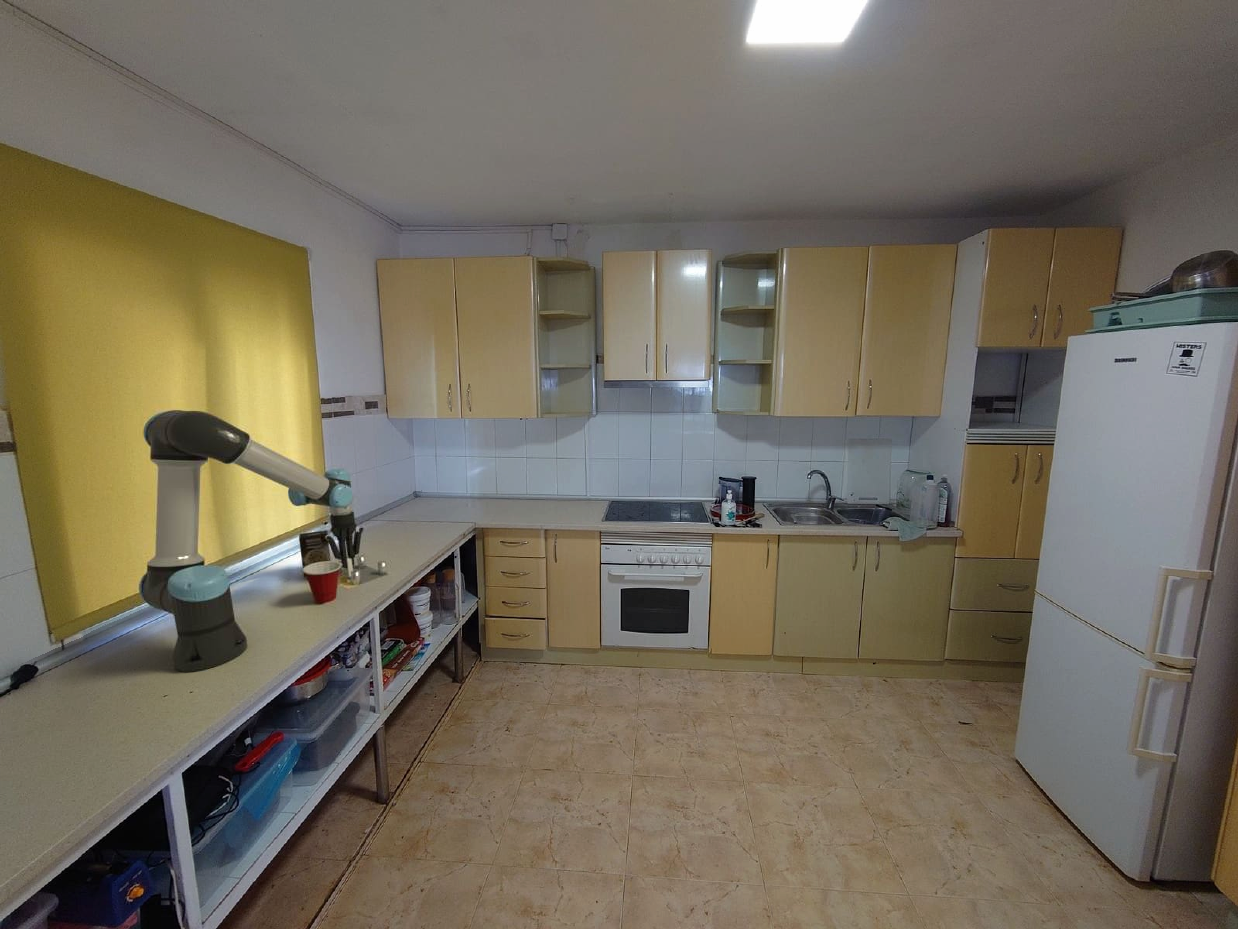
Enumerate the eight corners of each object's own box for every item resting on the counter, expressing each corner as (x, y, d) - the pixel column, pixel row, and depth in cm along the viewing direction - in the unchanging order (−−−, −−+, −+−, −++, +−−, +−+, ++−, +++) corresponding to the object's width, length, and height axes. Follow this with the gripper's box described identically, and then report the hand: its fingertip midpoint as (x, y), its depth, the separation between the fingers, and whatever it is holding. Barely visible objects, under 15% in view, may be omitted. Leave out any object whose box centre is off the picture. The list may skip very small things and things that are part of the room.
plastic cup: (335, 607, 157) (331, 571, 154) (300, 609, 156) (295, 573, 154) (351, 592, 167) (347, 559, 165) (318, 594, 166) (313, 560, 164)
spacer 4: (381, 577, 180) (380, 564, 179) (377, 575, 181) (376, 562, 180) (388, 574, 182) (387, 561, 181) (384, 573, 184) (383, 560, 183)
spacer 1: (339, 577, 181) (337, 564, 180) (335, 575, 182) (334, 562, 181) (347, 574, 183) (345, 562, 182) (343, 573, 184) (341, 560, 184)
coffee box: (303, 580, 178) (297, 538, 176) (304, 574, 184) (298, 533, 181) (332, 575, 183) (327, 533, 180) (332, 569, 188) (327, 529, 186)
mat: (347, 590, 169) (347, 588, 169) (324, 579, 179) (323, 578, 179) (388, 575, 181) (388, 574, 181) (364, 566, 191) (364, 565, 191)
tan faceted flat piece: (336, 585, 172) (335, 578, 172) (330, 582, 175) (329, 576, 174) (350, 580, 176) (350, 574, 176) (344, 577, 179) (344, 571, 178)
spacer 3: (360, 570, 186) (359, 558, 185) (356, 569, 188) (355, 556, 187) (367, 568, 189) (366, 556, 188) (363, 567, 190) (362, 554, 189)
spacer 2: (355, 587, 171) (353, 573, 171) (350, 585, 173) (349, 572, 172) (362, 584, 174) (361, 571, 173) (358, 582, 175) (357, 569, 174)
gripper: (327, 518, 166) (336, 583, 171) (365, 509, 177) (372, 571, 181) (317, 515, 171) (325, 579, 175) (354, 507, 181) (361, 567, 185)
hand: (349, 575), depth 178 cm, fingers closed
